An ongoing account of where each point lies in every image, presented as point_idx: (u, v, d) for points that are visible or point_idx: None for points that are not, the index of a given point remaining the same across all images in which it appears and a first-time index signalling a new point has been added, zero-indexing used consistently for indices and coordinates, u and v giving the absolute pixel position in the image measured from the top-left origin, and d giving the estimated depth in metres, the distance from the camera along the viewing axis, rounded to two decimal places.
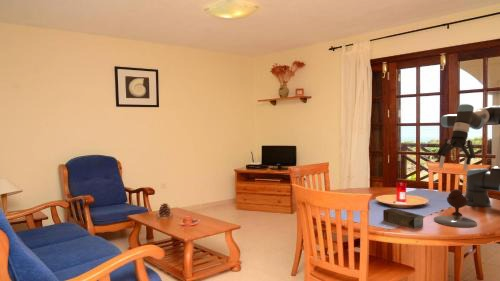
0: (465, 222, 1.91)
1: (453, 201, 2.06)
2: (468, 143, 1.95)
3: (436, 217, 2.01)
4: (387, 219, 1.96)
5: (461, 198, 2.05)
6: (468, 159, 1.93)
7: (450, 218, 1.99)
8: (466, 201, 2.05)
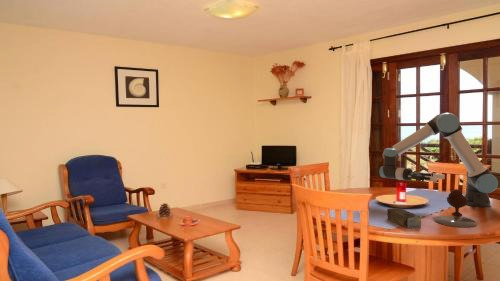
0: (465, 222, 1.91)
1: (453, 201, 2.06)
2: (411, 178, 2.21)
3: (436, 217, 2.01)
4: (389, 218, 1.99)
5: (461, 198, 2.05)
6: None
7: (450, 218, 1.99)
8: (466, 201, 2.05)
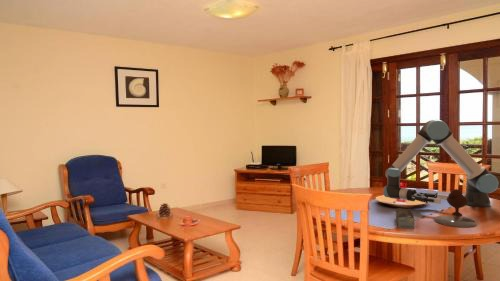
0: (465, 222, 1.91)
1: (453, 201, 2.06)
2: None
3: (436, 217, 2.01)
4: None
5: (461, 198, 2.05)
6: (429, 201, 2.13)
7: (450, 218, 1.99)
8: (466, 201, 2.05)
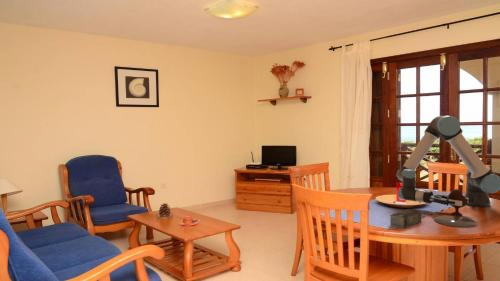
0: (465, 222, 1.91)
1: None
2: None
3: (436, 217, 2.01)
4: None
5: (461, 198, 2.05)
6: (449, 203, 2.06)
7: (450, 218, 1.99)
8: (466, 201, 2.05)
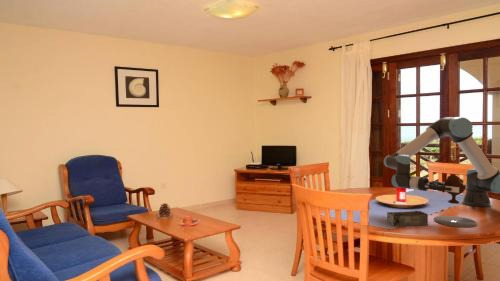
0: (465, 222, 1.91)
1: None
2: (428, 188, 1.99)
3: (436, 217, 2.01)
4: None
5: (458, 184, 1.90)
6: (446, 190, 1.92)
7: (450, 218, 1.99)
8: (463, 187, 1.90)
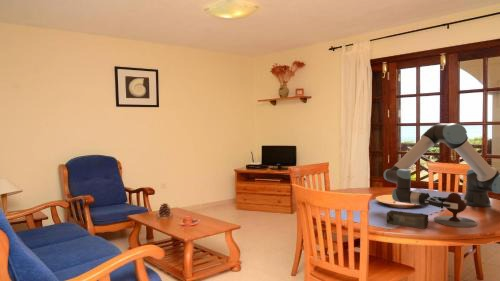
0: (465, 222, 1.91)
1: None
2: None
3: (436, 217, 2.01)
4: None
5: (459, 203, 1.90)
6: None
7: None
8: (465, 206, 1.90)
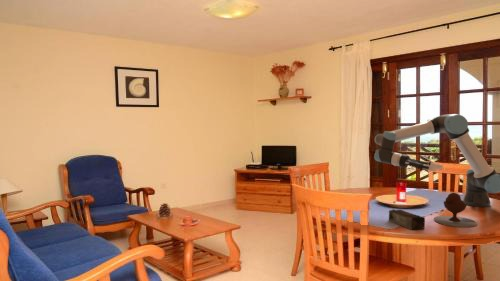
0: (465, 222, 1.91)
1: (450, 206, 1.91)
2: None
3: (436, 217, 2.01)
4: None
5: (459, 202, 1.90)
6: (423, 168, 2.02)
7: None
8: (464, 206, 1.90)
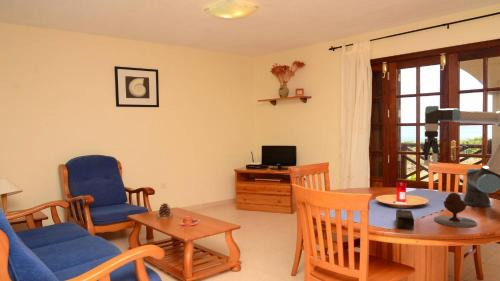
0: (465, 222, 1.91)
1: (450, 206, 1.91)
2: None
3: (436, 217, 2.01)
4: None
5: (459, 202, 1.90)
6: None
7: None
8: (464, 206, 1.90)
